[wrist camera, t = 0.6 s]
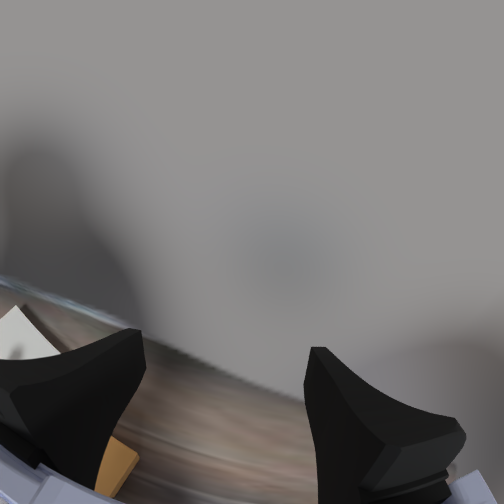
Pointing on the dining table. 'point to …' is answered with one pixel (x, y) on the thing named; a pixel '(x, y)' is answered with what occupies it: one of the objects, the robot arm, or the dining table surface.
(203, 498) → the dining table surface
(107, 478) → the orange cube
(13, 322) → the plate
